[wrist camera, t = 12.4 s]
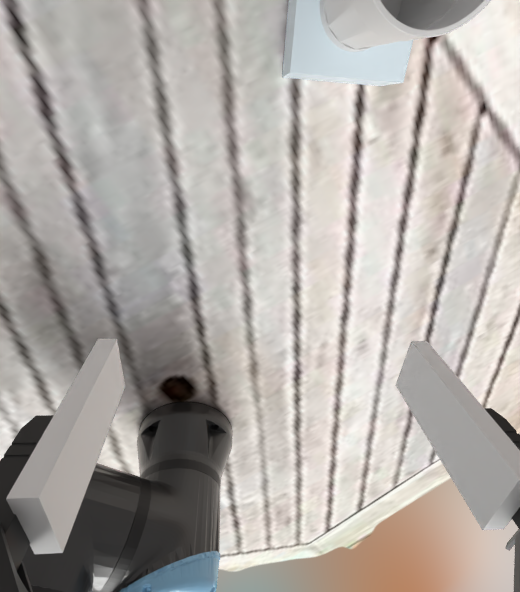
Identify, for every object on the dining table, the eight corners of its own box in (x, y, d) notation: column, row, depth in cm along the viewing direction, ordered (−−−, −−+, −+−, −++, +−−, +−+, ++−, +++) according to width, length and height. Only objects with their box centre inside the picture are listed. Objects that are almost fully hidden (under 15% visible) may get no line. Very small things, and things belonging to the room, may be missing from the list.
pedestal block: (282, 77, 32) (290, 72, 28) (294, -67, 28) (306, -100, 23) (380, 86, 33) (403, 82, 29) (408, -52, 29) (441, -80, 24)
